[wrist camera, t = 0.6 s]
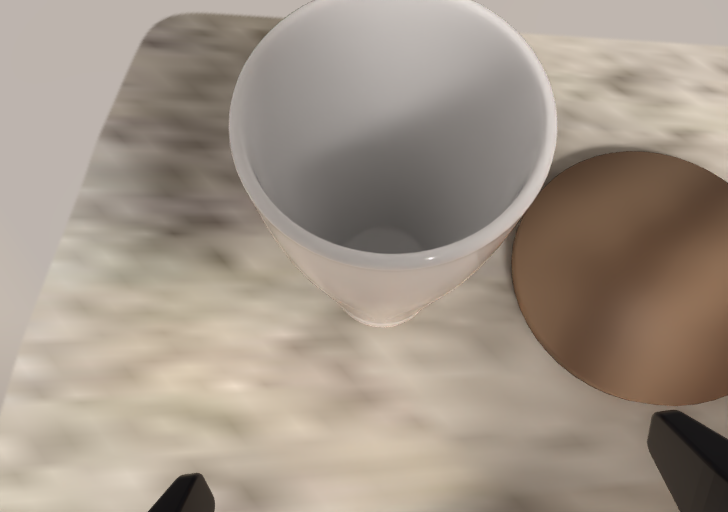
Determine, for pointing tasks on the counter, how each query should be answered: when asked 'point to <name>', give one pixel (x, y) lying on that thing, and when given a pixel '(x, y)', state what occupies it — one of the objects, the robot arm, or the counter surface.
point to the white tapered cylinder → (391, 145)
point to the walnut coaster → (630, 276)
